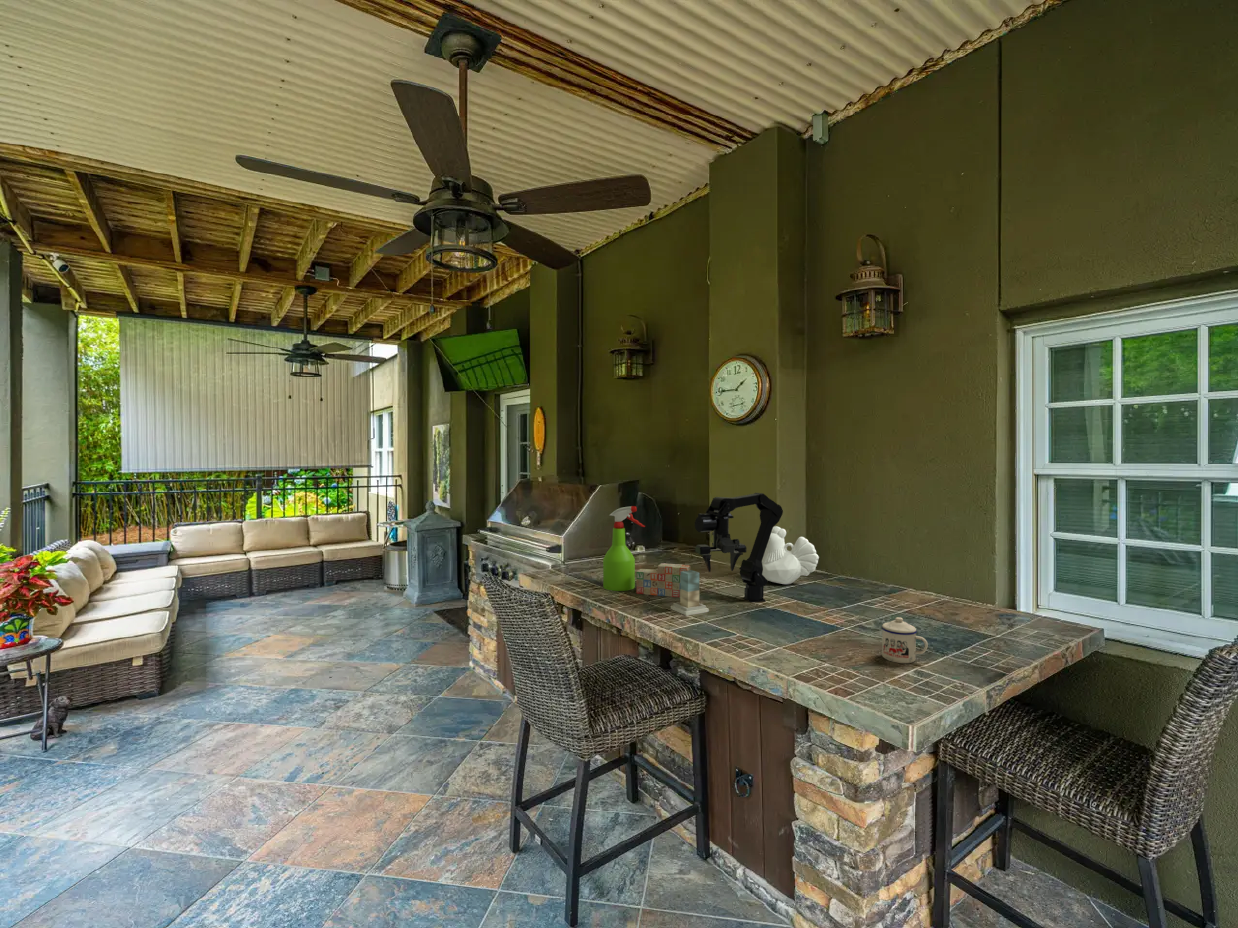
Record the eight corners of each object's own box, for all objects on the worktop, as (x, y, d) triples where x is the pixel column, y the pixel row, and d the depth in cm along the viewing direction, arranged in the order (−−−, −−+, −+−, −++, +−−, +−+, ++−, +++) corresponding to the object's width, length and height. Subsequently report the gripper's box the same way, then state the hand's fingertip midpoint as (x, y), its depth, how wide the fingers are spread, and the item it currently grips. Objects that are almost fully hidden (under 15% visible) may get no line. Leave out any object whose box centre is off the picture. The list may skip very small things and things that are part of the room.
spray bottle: (641, 592, 249) (641, 508, 247) (599, 590, 253) (599, 507, 252) (647, 584, 262) (647, 504, 261) (607, 582, 266) (607, 503, 265)
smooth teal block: (691, 604, 225) (691, 570, 225) (699, 607, 221) (699, 572, 220) (680, 606, 223) (680, 571, 222) (687, 609, 218) (688, 574, 218)
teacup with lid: (877, 659, 171) (878, 618, 171) (885, 650, 179) (886, 611, 178) (923, 668, 164) (924, 626, 164) (930, 659, 171) (931, 618, 171)
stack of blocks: (635, 594, 247) (636, 564, 246) (640, 590, 253) (640, 561, 252) (687, 598, 240) (687, 567, 239) (690, 594, 245) (690, 564, 245)
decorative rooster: (752, 582, 266) (753, 526, 266) (772, 576, 277) (772, 523, 277) (804, 592, 249) (805, 532, 248) (822, 586, 260) (823, 528, 259)
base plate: (692, 605, 229) (692, 599, 229) (708, 611, 220) (708, 605, 220) (670, 608, 224) (670, 602, 224) (686, 615, 215) (686, 609, 215)
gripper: (705, 534, 218) (705, 577, 219) (753, 532, 222) (752, 574, 223) (694, 530, 229) (694, 570, 229) (740, 528, 233) (740, 568, 234)
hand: (720, 571), depth 229 cm, fingers open, 9 cm apart
